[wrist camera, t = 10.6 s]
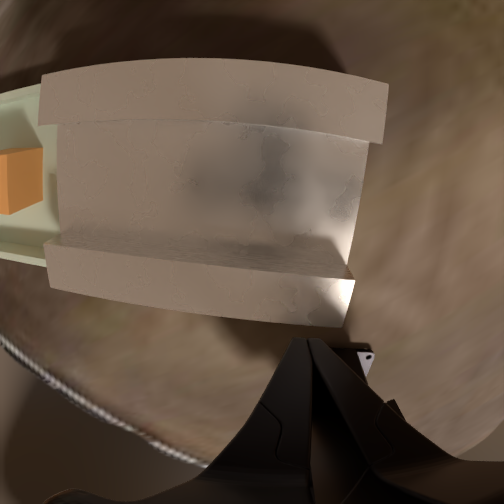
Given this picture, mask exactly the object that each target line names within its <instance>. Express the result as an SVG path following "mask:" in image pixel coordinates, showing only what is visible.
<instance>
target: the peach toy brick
mask: <svg viewBox="0 0 504 504" xmlns="http://www.w3.org/2000/svg"><path fill="white" fill-rule="evenodd" d="M40 201H43V147H41V148H9V149H4V150H0V214H4V215H11V214H13V213H15V212H17V211H20V210H22V209H24V208H26V207H29V206H31V205H33V204H36V203H38V202H40Z"/></svg>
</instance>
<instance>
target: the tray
mask: <svg viewBox="0 0 504 504" xmlns="http://www.w3.org/2000/svg"><path fill="white" fill-rule="evenodd" d="M40 88H41V84H37V85H33V86H28V87H24V88H20V89H16V90H13V91H9V92H5V93H2V94H0V150H4V149H9V148H41V147H43V201H40V202H38V203H36V204H33V205H31V206H29V207H26V208H24V209H22V210H20V211H17V212H15V213H13V214H11V215H4V214H0V258H3V259H8V260H13V261H18V262H23V263H28V264H33V265H38V266H44V267H47V266H46V260H45V253H44V246H43V243H45V242H46V241H48V240H50V239H51V238H53V237H55V236H56V235H58V234H60V223H59V210H58V194H57V125H45V126H38V111H39V98H40Z"/></svg>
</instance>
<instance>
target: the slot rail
mask: <svg viewBox="0 0 504 504" xmlns="http://www.w3.org/2000/svg"><path fill="white" fill-rule="evenodd" d="M388 88H389V84H386V83H382V82H378V81H375V80H371V79H367V78H362V77H358V76H354V75H349V74H344V73H339V72H334V71H329V70H324V69H318V68H312V67H306V66H299V65H292V64H284V63H275V62H266V61H254V60H241V59H221V58H169V59H149V60H135V61H124V62H115V63H107V64H99V65H92V66H86V67H80V68H74V69H69V70H63V71H59V72H54V73H49V74H45V75H42V79H41V88H40V98H39V111H38V126H45V125H57V194H58V210H59V223H60V234H58V235H56V236H55V237H53V238H51V239H50V240H48V241H46V242H45V243H43V246H44V253H45V260H46V266H47V272H48V277H49V282H50V287H51V288H55V289H60V290H64V291H69V292H74V293H79V294H84V295H89V296H94V297H99V298H104V299H109V300H115V301H120V302H126V303H132V304H138V305H144V306H150V307H156V308H162V309H169V310H176V311H182V312H189V313H197V314H204V315H212V316H220V317H228V318H236V319H245V320H254V321H264V322H274V323H285V324H296V325H308V326H322V327H336V328H342V326H343V323H344V319H345V316H346V312H347V309H348V305H349V302H350V298H351V294H352V291H353V287H354V283H355V279H354V277H353V276H352V274H351V272H350V270H349V268H348V266H347V261H348V256H349V252H350V247H351V243H352V238H353V233H354V228H355V223H356V218H357V213H358V208H359V202H360V197H361V191H362V185H363V179H364V173H365V167H366V160H367V154H368V146H369V143H377V144H382V142H383V134H384V126H385V118H386V109H387V99H388Z"/></svg>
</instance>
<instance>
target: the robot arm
mask: <svg viewBox="0 0 504 504" xmlns="http://www.w3.org/2000/svg"><path fill="white" fill-rule="evenodd" d="M368 355H369V356H368ZM366 356H367V357H366ZM374 356H375V355H374V353H373V351H372V350H369V349H341V348H329V347H328V346H327V345H326V344H325V343H324V342H323V341H322V340H321V339H319V338H308V339H307V340H306V338H298V337H294V338H292V340H291V342H290V344H289V346H288V348H287V350H286V351H285V353H284V355H283V357H282V359H281V361H280V363H279V365H278V367H277V369H276V371H275V372H274V374H273V376H272V378H271V380H270V382H269V384H268V385H267V387H266V389H265V391H264V393H263V394H262V396H261V398H260V400H259V402H258V404H257V405H256V407H255V408H254V410H253V412H252V413H251V415H250V417H249V418H248V420H247V421H246V423H245V424H244V426H243V427H242V428H241V429H240V431H239V432H238V433H237V434H236V436H235V437H234V438H233V439H232V440H231V442H230V443H229V444H228V445H227V446H226V447H225V448H224V449H223V451H222V452H221V453H220V454H219V455H218V456H217V457H216V458H215V459H214V460H213V461H212V463H211V464H210V465H209V466H208V467H207V468H206V469H205V470H204V471H202V472H201V473H200V474H199V475H198V476H196V477H195V478H193V479H191V480H189V481H187V482H185V483H182V484H180V485H178V486H175V487H173V488H170V489H168V490H165V491H163V492H161V493H158V494H155V495H152V496H149V497H147V498H144V499H140V500H136V501H126V502H125V501H116V500H111V499H107V498H104V497H101V496H98V495H96V494H93V493H90V492H87V491H84V490H79V489H68V490H65V491H63V492H60V493H58V494H56V495H54V496H52V497H50V498H48V499H47V500H46V501H45V502H44V503H42V504H504V462H498V461H497V462H494V461H467V460H462V459H458V458H456V457H453V456H452V455H450V454H448V453H447V452H445V451H444V450H442V449H441V448H440V447H438V446H437V445H436V444H434V443H433V442H432V441H430V440H429V439H428V438H426V437H425V436H424V435H422V434H421V433H420V432H418V431H417V430H416V429H415V428H413V427H412V426H411V425H410V424H408V423H407V422H406V420H405V418H404V416H403V415H402V413H401V411H400V409H399V407H398V405H397V403H396V401H395V400H394V399H393V400H390V401H387V403H384V401H383V400H382V399H381V398H380V397H379V396H378V395H377V394H376V393H375V392H374V391H373V390H372V389H371V388H370V387H369V386H368V383H367V380H366V376H367V373H368V371H369V369H370V366H371V364H372V362H373V359H374Z"/></svg>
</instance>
